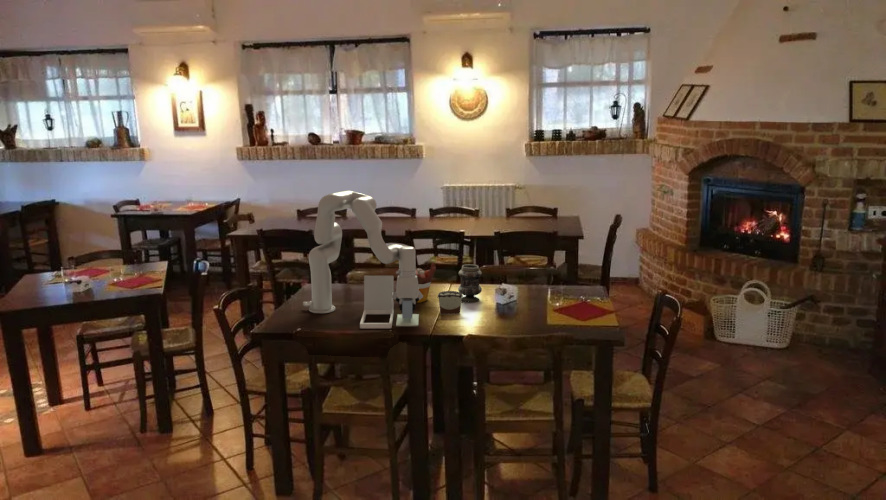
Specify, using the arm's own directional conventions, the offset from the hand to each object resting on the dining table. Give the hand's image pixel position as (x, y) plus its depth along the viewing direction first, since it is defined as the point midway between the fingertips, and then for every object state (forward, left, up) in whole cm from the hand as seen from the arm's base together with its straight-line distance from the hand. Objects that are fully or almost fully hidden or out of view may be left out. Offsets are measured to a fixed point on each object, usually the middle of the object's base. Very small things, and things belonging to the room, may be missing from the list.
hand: (407, 311), depth 315 cm
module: (0, 0, -2) cm, 2 cm away
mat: (0, 0, -5) cm, 5 cm away
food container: (+20, +13, -5) cm, 24 cm away
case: (-14, +2, -5) cm, 15 cm away
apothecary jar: (+31, +34, -5) cm, 46 cm away
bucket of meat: (+4, +34, -5) cm, 35 cm away
